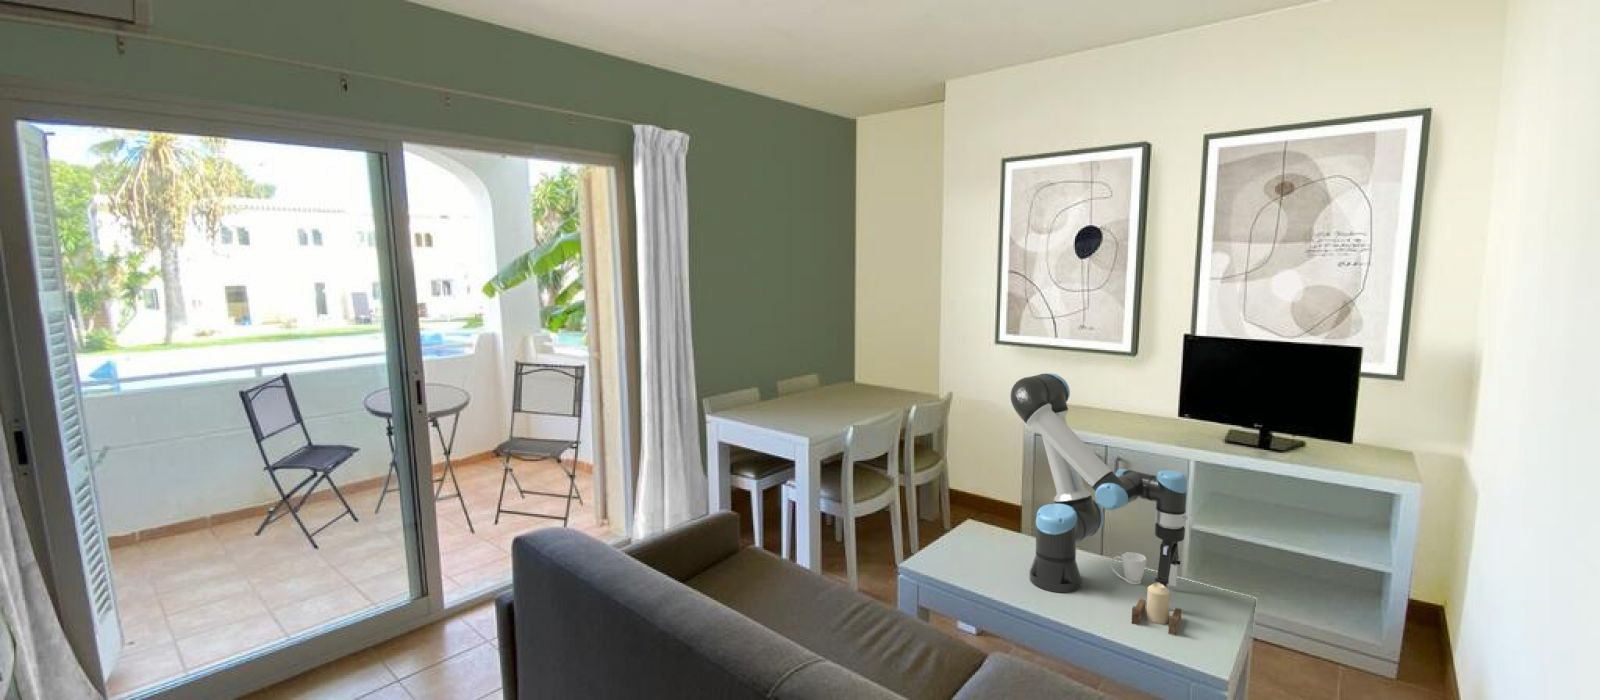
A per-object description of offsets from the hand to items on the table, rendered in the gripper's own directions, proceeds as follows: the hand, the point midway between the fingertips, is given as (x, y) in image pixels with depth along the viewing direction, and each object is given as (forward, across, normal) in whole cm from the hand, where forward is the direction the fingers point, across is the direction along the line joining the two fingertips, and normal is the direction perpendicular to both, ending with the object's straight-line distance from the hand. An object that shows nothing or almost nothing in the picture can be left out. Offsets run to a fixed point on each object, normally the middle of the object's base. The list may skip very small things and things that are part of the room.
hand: (1166, 594), depth 196 cm
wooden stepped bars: (+2, -15, 0) cm, 15 cm away
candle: (+2, -14, 0) cm, 14 cm away
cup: (+2, +7, +12) cm, 14 cm away
